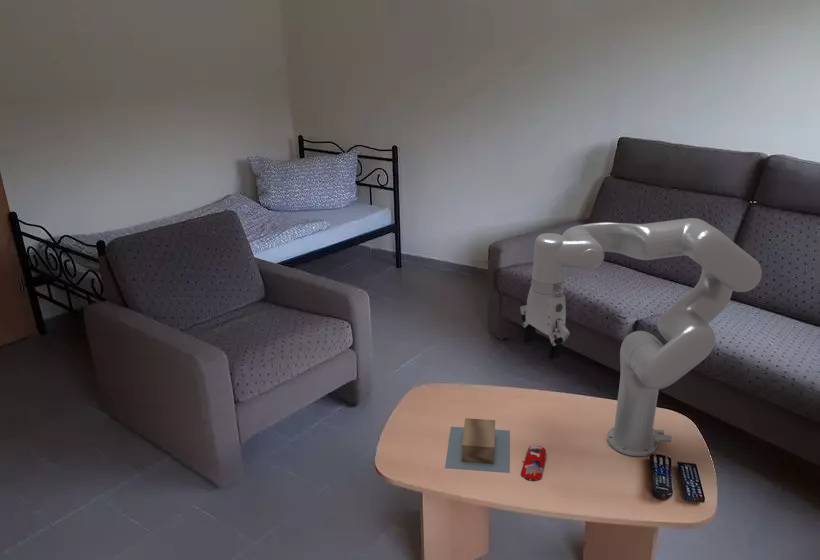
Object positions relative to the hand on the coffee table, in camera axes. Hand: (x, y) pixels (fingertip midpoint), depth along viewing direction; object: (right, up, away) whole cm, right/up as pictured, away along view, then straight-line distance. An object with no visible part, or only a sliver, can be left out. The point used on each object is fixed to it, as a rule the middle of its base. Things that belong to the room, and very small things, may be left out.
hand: (541, 349), depth 165 cm
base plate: (-14, -28, +9) cm, 33 cm away
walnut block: (-14, -27, +9) cm, 32 cm away
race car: (-1, -31, +3) cm, 31 cm away
